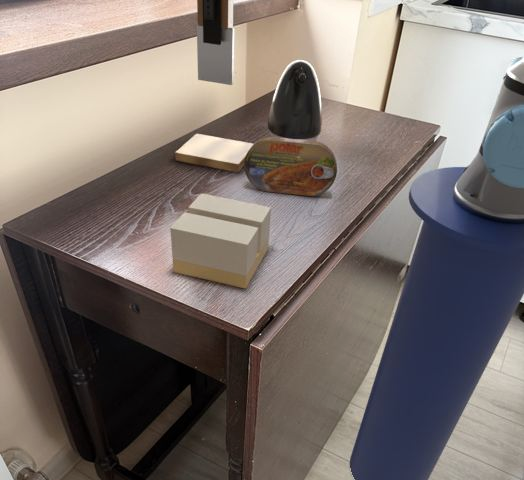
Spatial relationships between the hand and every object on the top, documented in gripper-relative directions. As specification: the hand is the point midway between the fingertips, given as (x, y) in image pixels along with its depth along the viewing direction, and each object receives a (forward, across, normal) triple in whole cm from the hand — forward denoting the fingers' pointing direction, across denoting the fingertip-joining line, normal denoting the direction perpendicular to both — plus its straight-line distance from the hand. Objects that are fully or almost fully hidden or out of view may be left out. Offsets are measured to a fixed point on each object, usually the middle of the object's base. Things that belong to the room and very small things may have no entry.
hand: (215, 40), depth 80 cm
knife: (+6, 0, 0) cm, 6 cm away
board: (+19, -1, 0) cm, 19 cm away
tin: (+19, +7, +16) cm, 26 cm away
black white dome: (+19, -11, +12) cm, 25 cm away
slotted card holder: (+19, +31, +13) cm, 39 cm away
